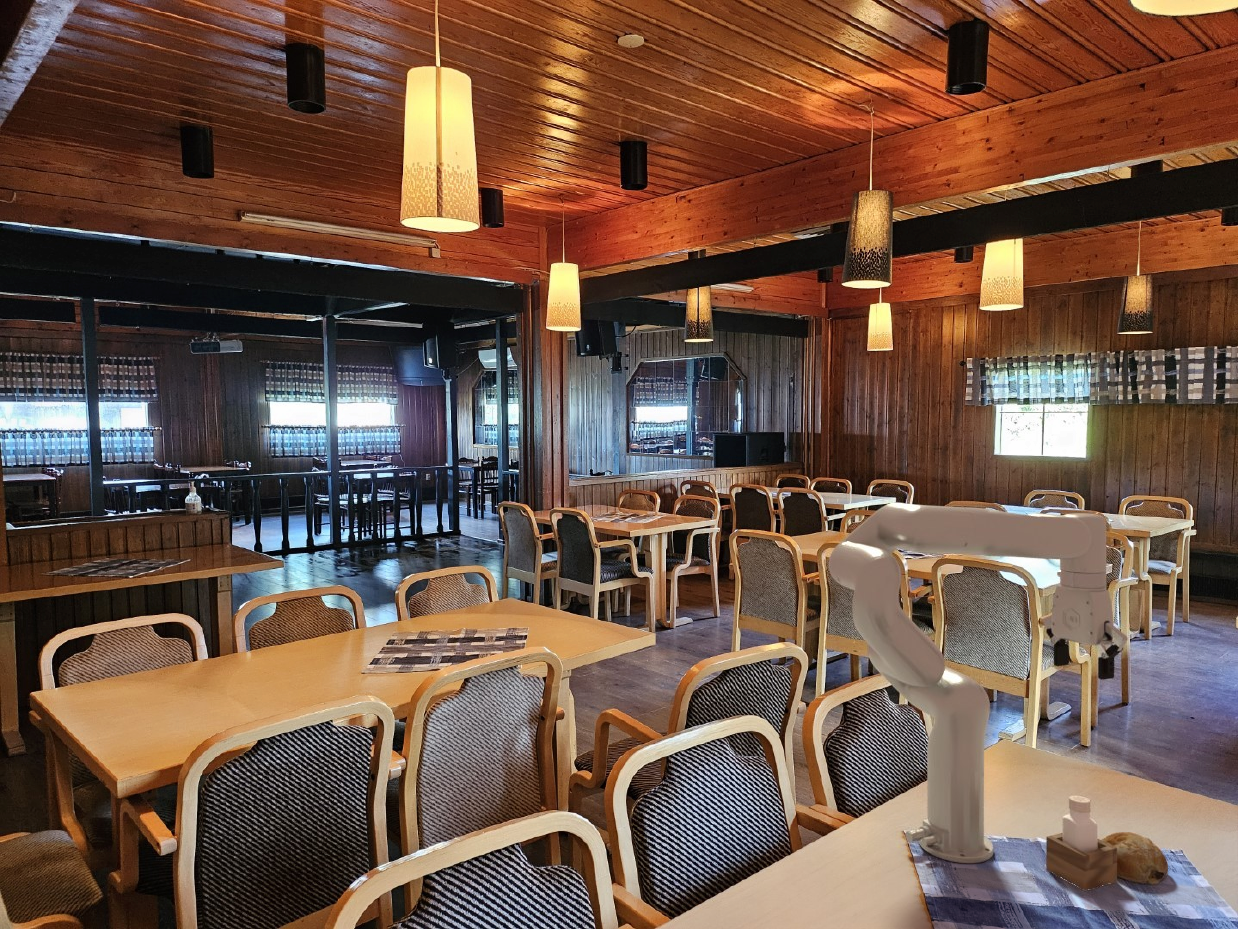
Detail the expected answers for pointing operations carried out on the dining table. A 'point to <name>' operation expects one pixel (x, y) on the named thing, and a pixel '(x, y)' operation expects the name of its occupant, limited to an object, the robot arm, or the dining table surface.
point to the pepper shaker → (1080, 825)
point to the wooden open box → (1081, 863)
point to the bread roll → (1138, 858)
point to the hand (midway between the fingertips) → (1083, 671)
